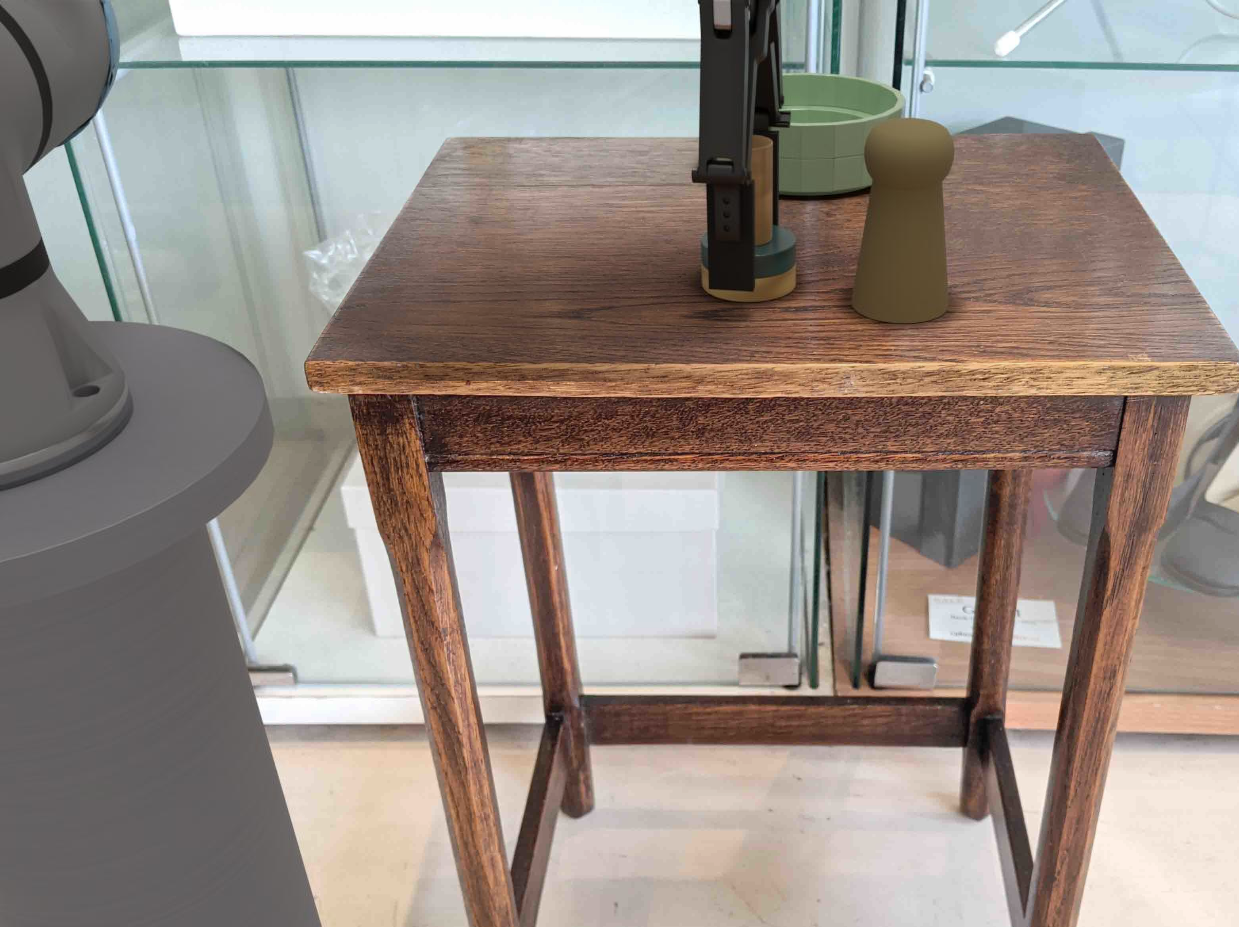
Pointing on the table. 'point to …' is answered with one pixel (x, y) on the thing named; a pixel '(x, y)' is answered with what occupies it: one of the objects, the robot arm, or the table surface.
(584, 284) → the table surface
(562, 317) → the table surface
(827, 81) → the bowl
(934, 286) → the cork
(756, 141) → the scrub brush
